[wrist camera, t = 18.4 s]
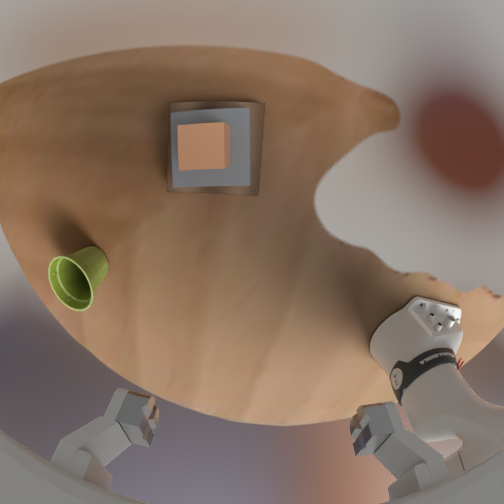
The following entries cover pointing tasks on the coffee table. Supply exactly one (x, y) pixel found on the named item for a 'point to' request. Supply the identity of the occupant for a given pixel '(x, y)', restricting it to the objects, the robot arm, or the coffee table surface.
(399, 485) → the robot arm
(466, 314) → the coffee table surface
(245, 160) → the upper tower block
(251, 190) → the lower tower block
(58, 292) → the plant pot
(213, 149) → the rust cube
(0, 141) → the coffee table surface
